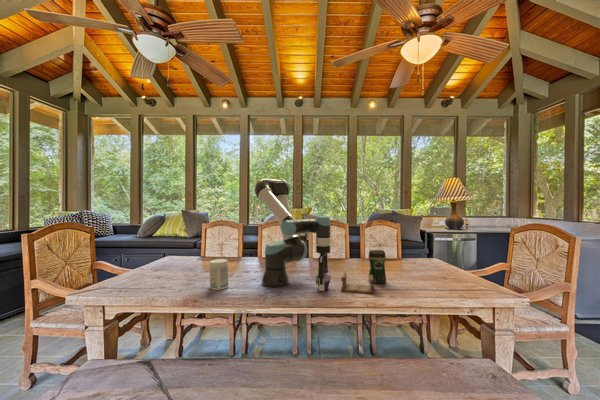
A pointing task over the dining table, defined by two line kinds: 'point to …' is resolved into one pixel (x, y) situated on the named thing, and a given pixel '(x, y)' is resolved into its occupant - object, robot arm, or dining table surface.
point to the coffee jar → (377, 266)
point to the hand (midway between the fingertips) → (323, 287)
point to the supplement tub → (218, 274)
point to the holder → (357, 286)
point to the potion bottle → (326, 280)
